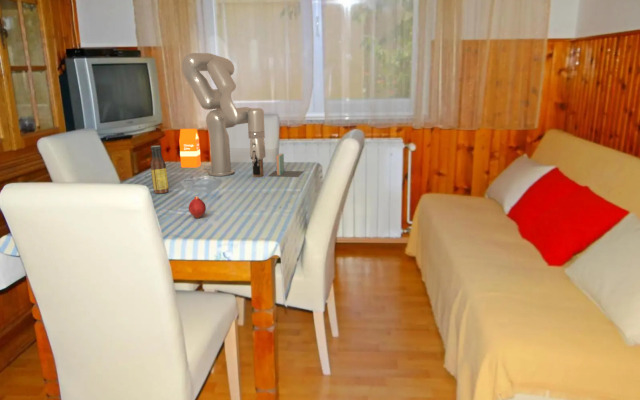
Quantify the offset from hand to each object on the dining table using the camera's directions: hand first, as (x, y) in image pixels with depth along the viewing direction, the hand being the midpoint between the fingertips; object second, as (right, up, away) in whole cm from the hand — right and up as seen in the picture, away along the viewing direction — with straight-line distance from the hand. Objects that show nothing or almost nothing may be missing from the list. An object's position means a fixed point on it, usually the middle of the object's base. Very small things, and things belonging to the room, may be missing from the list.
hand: (258, 173), depth 247 cm
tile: (+10, 0, +7) cm, 12 cm away
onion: (-13, -19, -65) cm, 69 cm away
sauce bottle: (-38, -10, -26) cm, 47 cm away
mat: (+13, -1, +5) cm, 14 cm away
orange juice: (-40, +5, +33) cm, 52 cm away
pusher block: (0, -2, +1) cm, 2 cm away
